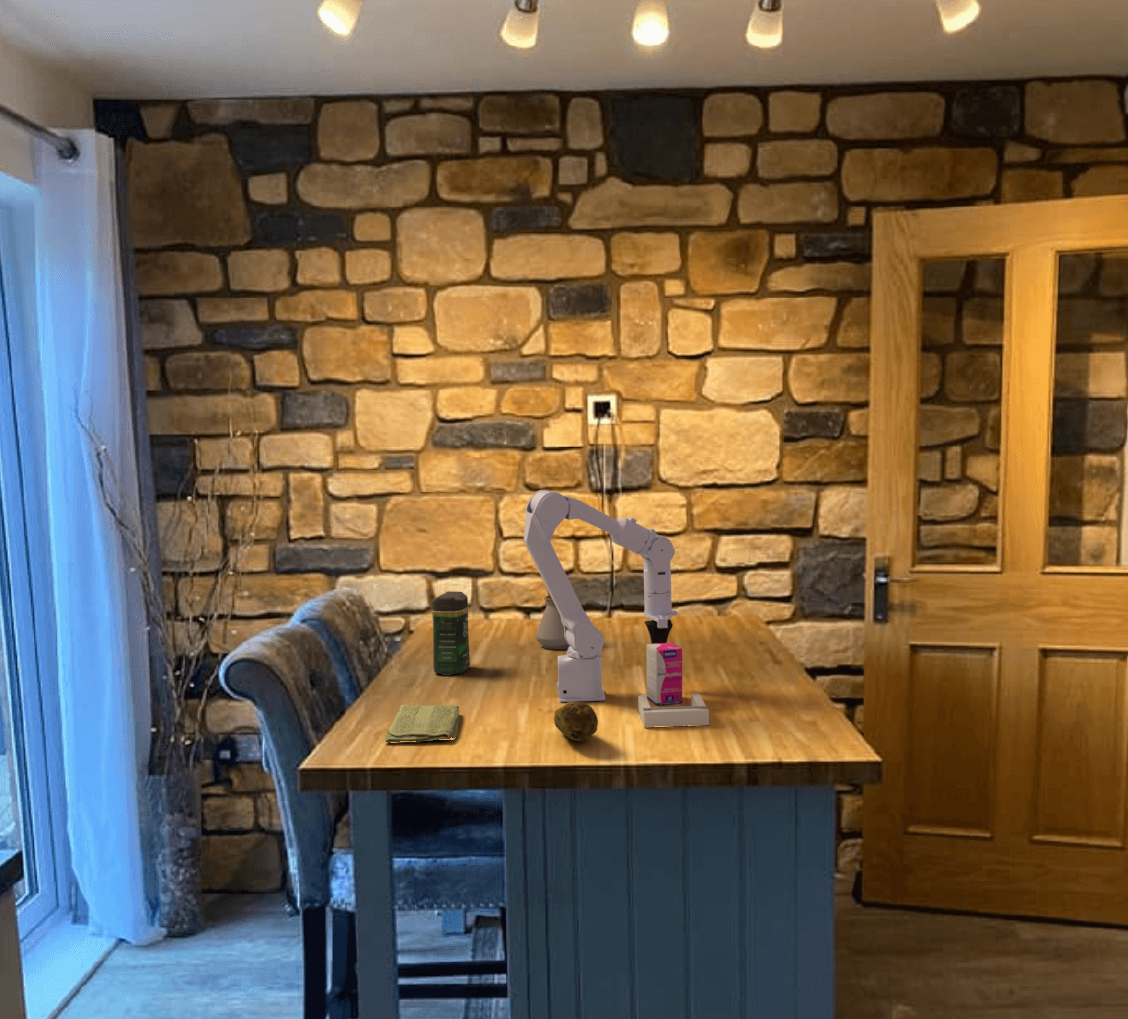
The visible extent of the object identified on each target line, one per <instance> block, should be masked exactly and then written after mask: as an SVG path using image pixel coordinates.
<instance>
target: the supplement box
mask: <svg viewBox="0 0 1128 1019" xmlns="http://www.w3.org/2000/svg"><path fill="white" fill-rule="evenodd" d="M646 697H647V700H648V701H649V702H651V703H654V704H653V705H655V706H656V705H657V706H663V705H662V704H665V705H672V704H671V703H675V704H682V703H683V648H682V647H680V646H678V645H677V644H675V643H674V642H667V643H658V644H651V643H647V644H646Z"/></svg>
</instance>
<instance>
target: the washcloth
mask: <svg viewBox="0 0 1128 1019" xmlns="http://www.w3.org/2000/svg"><path fill="white" fill-rule="evenodd" d="M459 724H460V707H459V705H457V704H443V705H442V704H440V705H438V704H434V705H420V704H401V705H400V707H398V710H397V713H396V714H395V717H394V719H393V721H392V723H391V724H390V727H388V730H386V731H387V732H386V735H385V737H384V741H385V743H386V742H400V741H416V742H415V743H422V742H421V741H428V742H432V741H433V740H439V739H450V738H451V737H452V738H455V737H456V738H457V737H458V729H459ZM419 741H420V742H419ZM433 742H434V741H433Z"/></svg>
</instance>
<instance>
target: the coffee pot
mask: <svg viewBox="0 0 1128 1019" xmlns="http://www.w3.org/2000/svg"><path fill="white" fill-rule="evenodd" d="M543 599H544V600H545V604H546V607H545V608H544V612H543V615H542V617H541V619H540V622H539V625H538V628H537V630H536V632H535V636H534V637H535V639H536V641H537V642H538V643H539V644H540V645H542V648H544V649H547V650H564V649H568V648H569V647H570V645H569V644H568V643H567V642H566V640H565V637H564V626H563V624H562V622H561V616H560V614H559V612H558V610H557V608H556V606H555V604H554V602H553V599H552V597H551V595H550V594H549V595H545V596H544V597H543Z"/></svg>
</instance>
